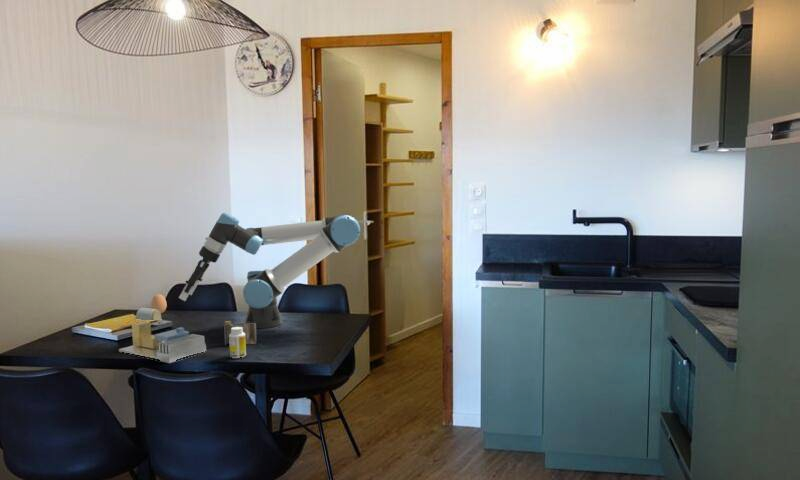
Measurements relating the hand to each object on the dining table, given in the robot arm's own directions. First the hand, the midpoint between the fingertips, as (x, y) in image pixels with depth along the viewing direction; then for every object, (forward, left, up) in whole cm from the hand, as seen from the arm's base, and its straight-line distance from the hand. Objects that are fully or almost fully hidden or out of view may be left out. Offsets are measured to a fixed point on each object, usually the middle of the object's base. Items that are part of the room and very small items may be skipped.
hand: (185, 296), depth 260 cm
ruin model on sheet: (-23, +16, -16) cm, 32 cm away
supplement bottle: (-24, +34, -16) cm, 44 cm away
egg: (+21, -45, -16) cm, 52 cm away
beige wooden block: (+10, +18, -14) cm, 25 cm away
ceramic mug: (+19, -22, -16) cm, 34 cm away
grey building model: (+4, +23, -16) cm, 28 cm away
